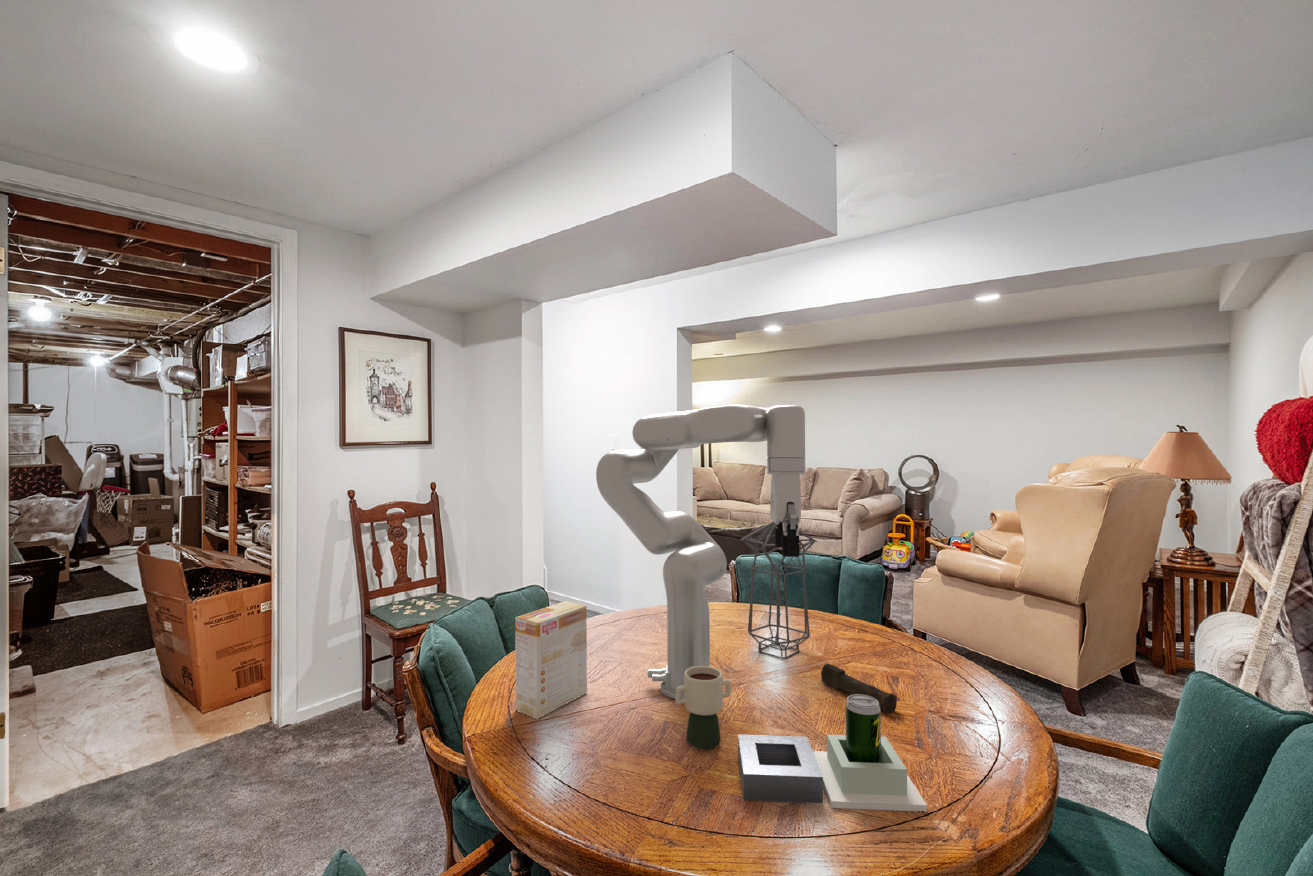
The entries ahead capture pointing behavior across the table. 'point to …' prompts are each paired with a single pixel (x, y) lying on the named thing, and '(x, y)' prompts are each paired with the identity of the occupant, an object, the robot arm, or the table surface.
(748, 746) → the socket block
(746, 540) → the geometric lantern
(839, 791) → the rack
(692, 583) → the robot arm
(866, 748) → the beer can
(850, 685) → the hand tool
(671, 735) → the table surface
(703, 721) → the character mug
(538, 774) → the table surface
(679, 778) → the table surface
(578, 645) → the coffeecake box
